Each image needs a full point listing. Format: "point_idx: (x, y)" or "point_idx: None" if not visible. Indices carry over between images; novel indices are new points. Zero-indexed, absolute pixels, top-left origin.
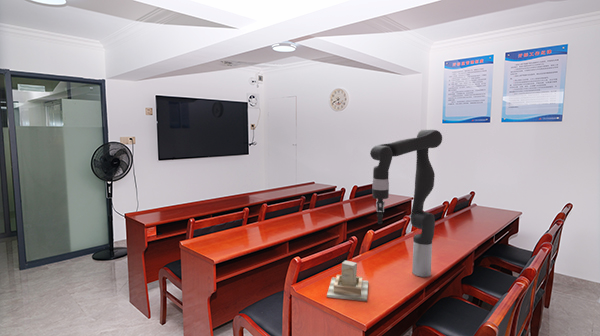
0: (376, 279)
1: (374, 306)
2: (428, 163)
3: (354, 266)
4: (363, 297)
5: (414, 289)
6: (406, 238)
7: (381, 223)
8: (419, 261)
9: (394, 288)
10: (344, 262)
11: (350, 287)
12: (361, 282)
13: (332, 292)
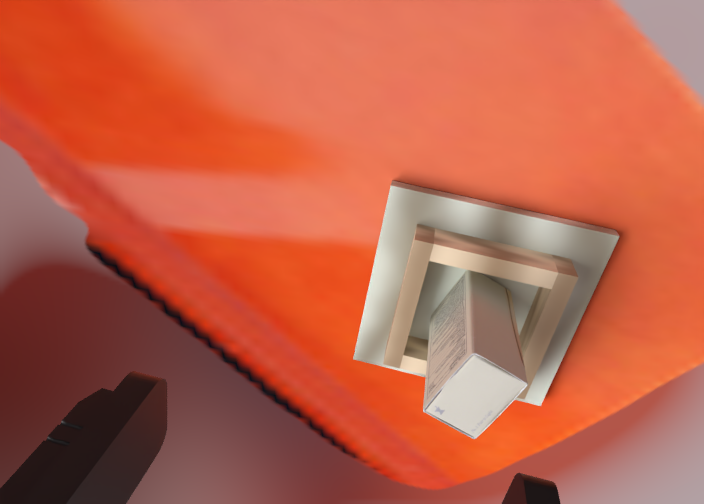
0: (341, 119)
1: (681, 201)
2: None
3: (513, 368)
4: (600, 251)
5: None
6: None
7: (551, 496)
8: None
9: (470, 23)
10: (464, 423)
11: (551, 327)
12: (492, 259)
13: None
